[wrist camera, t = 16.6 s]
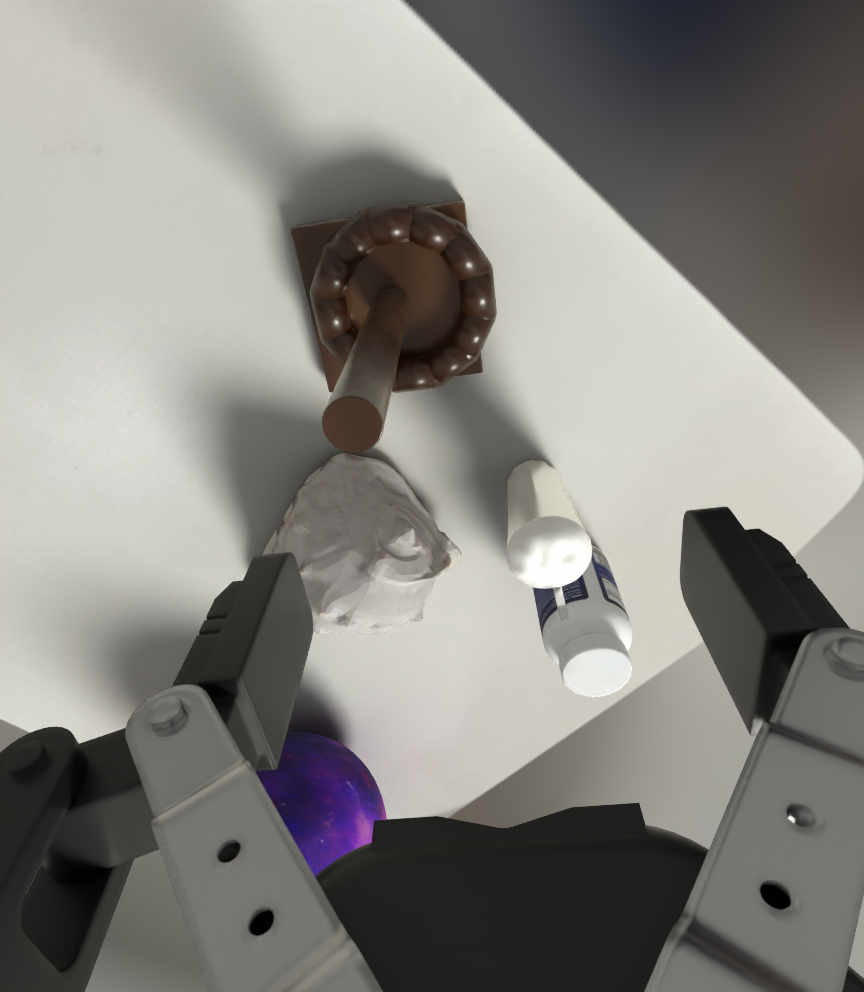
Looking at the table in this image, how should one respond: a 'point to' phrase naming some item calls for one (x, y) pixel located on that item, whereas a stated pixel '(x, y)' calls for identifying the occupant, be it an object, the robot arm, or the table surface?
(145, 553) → the table surface
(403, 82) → the table surface
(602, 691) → the pill bottle
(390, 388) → the stand
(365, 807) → the decorative orb
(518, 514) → the milkshake
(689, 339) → the table surface
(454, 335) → the ring
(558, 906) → the robot arm
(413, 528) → the seashell
